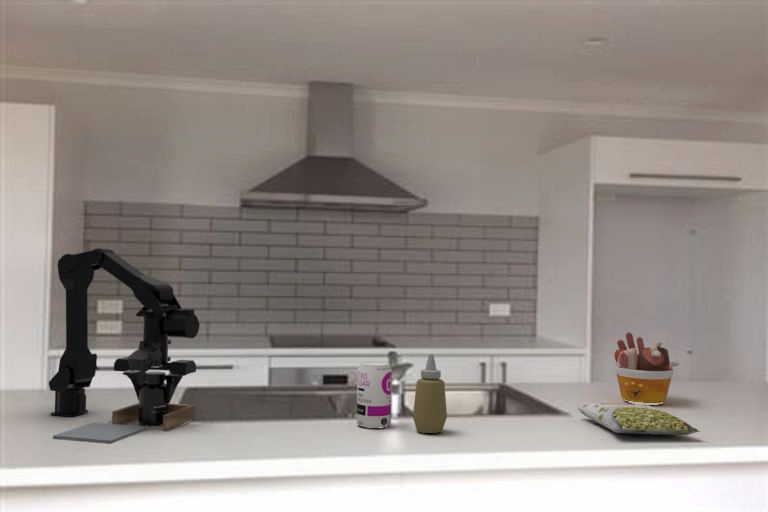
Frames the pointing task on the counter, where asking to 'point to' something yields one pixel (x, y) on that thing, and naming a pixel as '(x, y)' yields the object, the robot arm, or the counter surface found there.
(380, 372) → the supplement can
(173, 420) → the walnut frame
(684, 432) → the frozen beans
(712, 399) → the counter surface
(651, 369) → the bucket of meat
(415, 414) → the squeeze bottle
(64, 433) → the grey mat
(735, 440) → the counter surface
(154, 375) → the supplement bottle
